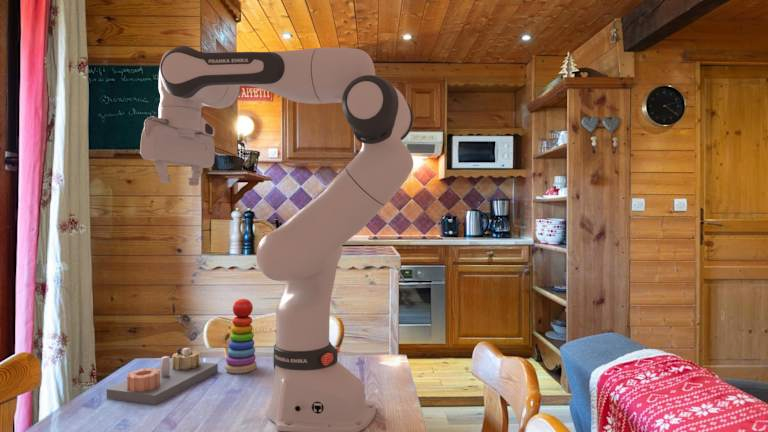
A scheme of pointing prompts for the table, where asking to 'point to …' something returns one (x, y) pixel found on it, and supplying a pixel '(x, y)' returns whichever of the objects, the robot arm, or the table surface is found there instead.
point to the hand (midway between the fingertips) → (180, 184)
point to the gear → (185, 360)
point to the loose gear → (143, 379)
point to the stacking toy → (241, 340)
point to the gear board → (165, 382)
